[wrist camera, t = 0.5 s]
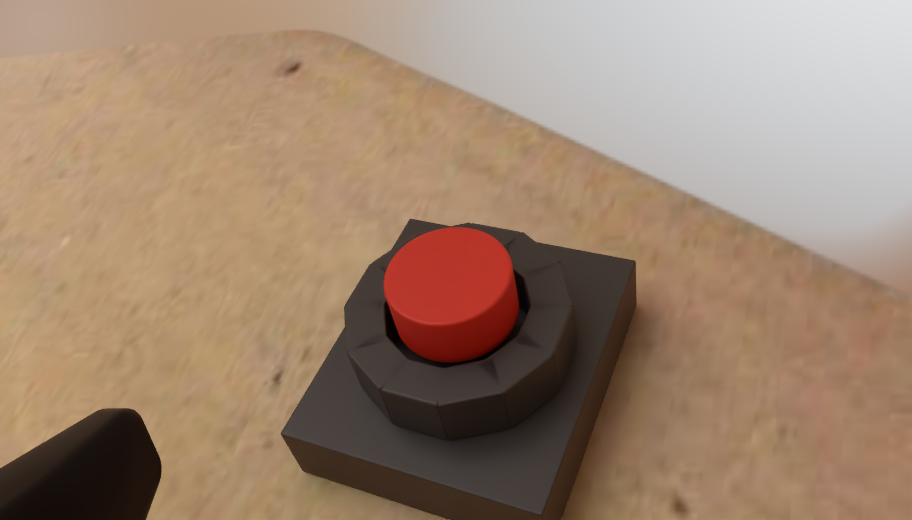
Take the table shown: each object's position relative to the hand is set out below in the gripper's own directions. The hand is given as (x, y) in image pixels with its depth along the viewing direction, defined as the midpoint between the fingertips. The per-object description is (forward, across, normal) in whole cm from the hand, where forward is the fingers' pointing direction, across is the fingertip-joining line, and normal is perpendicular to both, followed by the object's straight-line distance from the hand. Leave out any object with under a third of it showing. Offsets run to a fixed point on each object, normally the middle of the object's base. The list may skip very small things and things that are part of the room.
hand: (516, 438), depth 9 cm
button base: (+14, +5, +11) cm, 18 cm away
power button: (+13, +5, +7) cm, 16 cm away
